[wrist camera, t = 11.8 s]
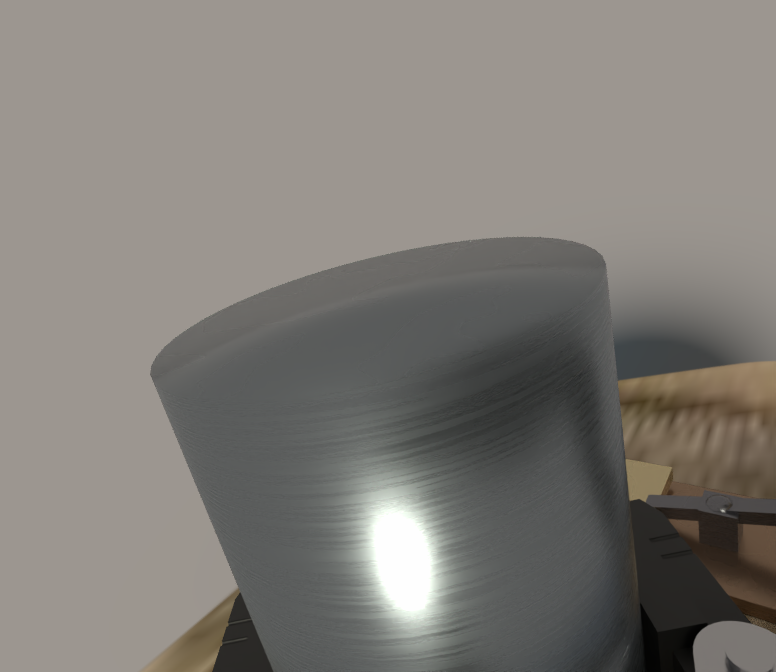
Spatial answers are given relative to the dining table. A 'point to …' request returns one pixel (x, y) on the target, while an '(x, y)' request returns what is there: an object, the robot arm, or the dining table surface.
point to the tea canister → (420, 461)
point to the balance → (718, 533)
